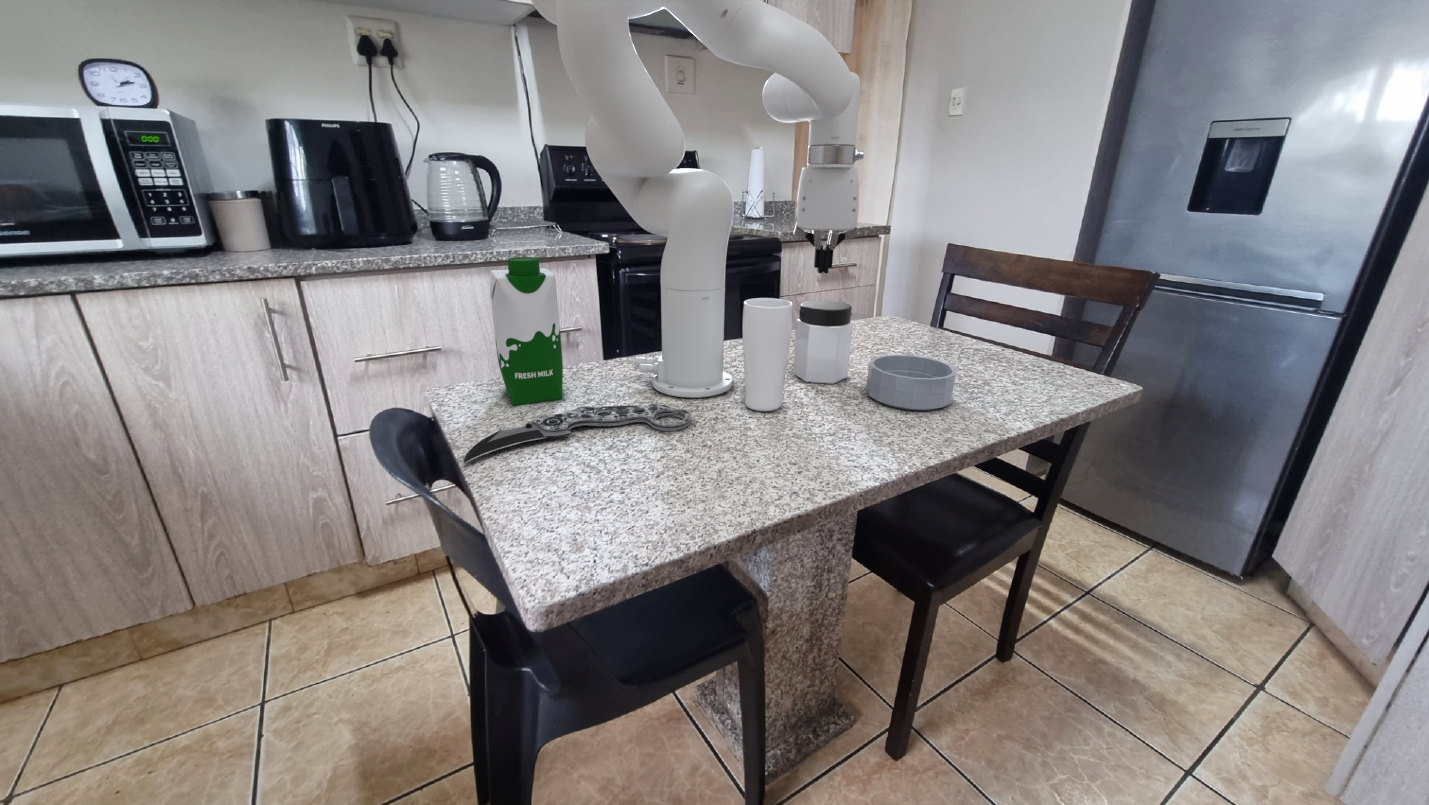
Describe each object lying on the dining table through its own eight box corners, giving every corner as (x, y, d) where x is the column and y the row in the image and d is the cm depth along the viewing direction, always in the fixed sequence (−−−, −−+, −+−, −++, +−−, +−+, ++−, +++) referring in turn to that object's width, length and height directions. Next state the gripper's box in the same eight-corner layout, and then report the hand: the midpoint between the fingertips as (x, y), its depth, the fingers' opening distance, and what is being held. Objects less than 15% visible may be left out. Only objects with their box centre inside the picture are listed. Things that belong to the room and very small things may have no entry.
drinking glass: (773, 418, 79) (779, 309, 74) (730, 408, 83) (734, 303, 77) (794, 403, 85) (801, 301, 79) (753, 394, 88) (757, 295, 83)
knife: (462, 458, 63) (458, 420, 72) (464, 470, 64) (459, 432, 72) (701, 423, 75) (673, 394, 83) (700, 434, 75) (673, 404, 83)
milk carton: (506, 409, 81) (490, 262, 74) (499, 388, 88) (483, 254, 81) (570, 400, 84) (559, 259, 77) (557, 381, 92) (547, 252, 85)
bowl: (874, 410, 83) (879, 377, 81) (860, 383, 94) (863, 353, 92) (962, 414, 82) (968, 380, 80) (936, 386, 93) (941, 356, 92)
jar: (812, 365, 103) (818, 297, 99) (854, 375, 98) (862, 304, 94) (784, 376, 96) (788, 305, 92) (827, 388, 92) (834, 312, 87)
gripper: (872, 159, 98) (862, 269, 105) (783, 158, 99) (778, 268, 106) (881, 158, 91) (869, 276, 98) (785, 157, 92) (780, 275, 99)
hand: (822, 271), depth 102 cm, fingers closed
